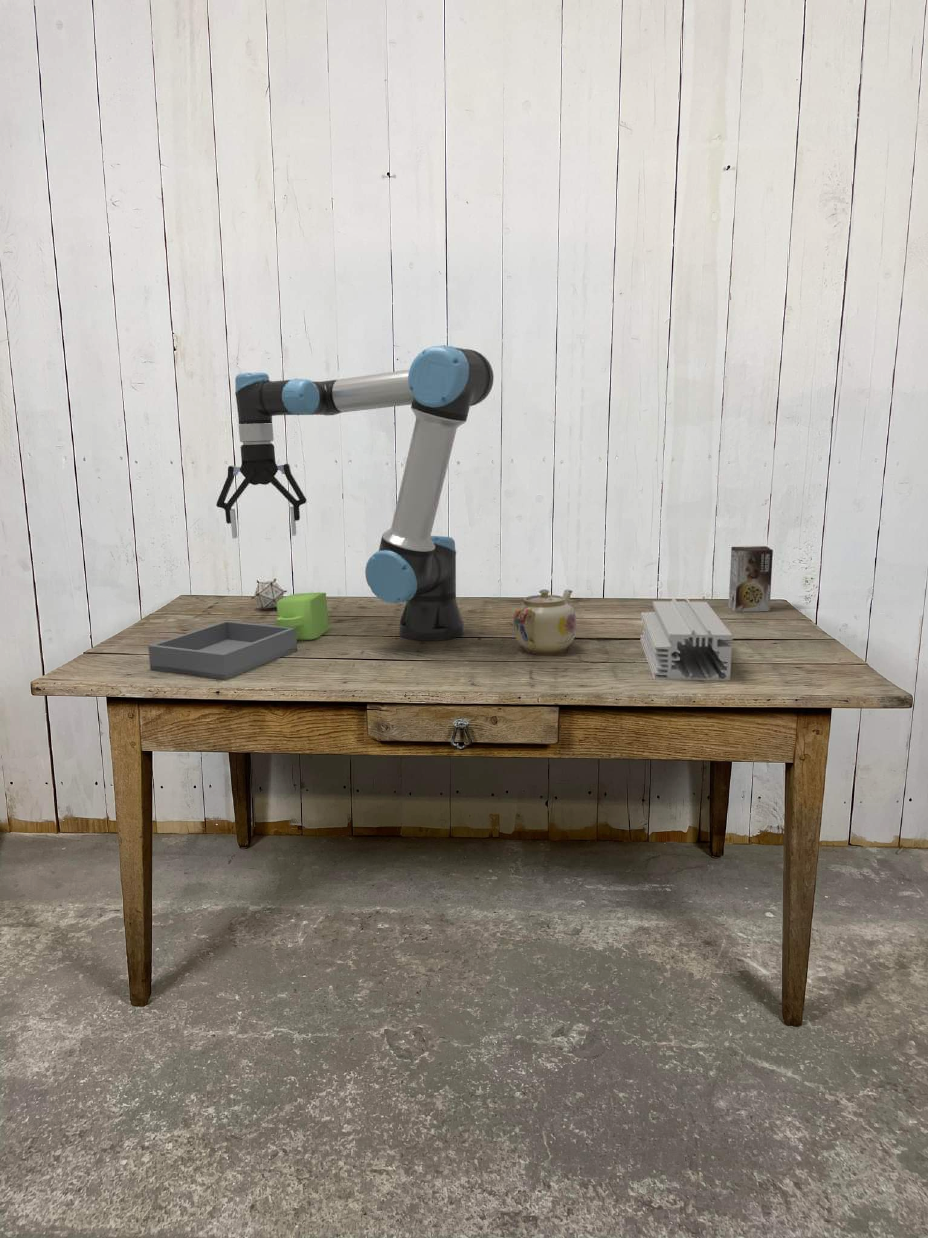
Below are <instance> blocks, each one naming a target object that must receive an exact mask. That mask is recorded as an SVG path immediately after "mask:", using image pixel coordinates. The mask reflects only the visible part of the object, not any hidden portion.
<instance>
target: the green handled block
mask: <svg viewBox="0 0 928 1238" xmlns="http://www.w3.org/2000/svg"><path fill="white" fill-rule="evenodd" d="M327 601H328V599H327V592H304V593H292V594H290V595H287V596H285V597H282V599H281V600H279V601H277V607H276V610H277V611H276V612H277V618H276V619H275V622H276V626H280V627H290V628H296V640H297V641H299V640H300V641H301V640H305V641H306V640H315V639H318V638H319V637H320V636H322V635H323V634H325V633H327V632H328V631H329V629H330V628H329V627H330V626H329V624H330V623H329V613H328V602H327Z"/></svg>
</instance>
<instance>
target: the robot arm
mask: <svg viewBox="0 0 928 1238" xmlns="http://www.w3.org/2000/svg"><path fill="white" fill-rule="evenodd" d="M494 376H495V375H494V370H493V367H492V365H491V363H490V361H489V360H488V359H487V358H486V357H485V355H483V354H482V353H480V352H478V351H476V350H474V349H469V348H462V347H460V348H459V347H455V346H453V345H451V346H450V345H436V346H435V345H434V346H430V347H428V348H425V349H424V350H421V352H420V353H418V354H417V356H416V357H415V358H414V359H413V361H412V362H411V364H410V367H409V369H404V370H397V371H396V370H395V371H390V372H383V373H375V374H369V375H361V376H354V377H346V378H340V379H339V378H338V379H332V380H331V379H330V380H324V381H312V380H310V379H308V378H306V379H304V378H293V379H286V380H285V379H284V380H283V379H282V380H274V381H273V380H270V378H269V377H270V376H269V374H268V373H265V372H242V373H238V374H237V375H236V376H235V380H234V381H235V392H234V394H235V399H236V400H235V401H236V408H237V416H238V419H237V420H238V434H239V442H240V443H242V445H241V446H240V458H241V465H240V466H234V465H229V466H228V467H227V477H226V478H225V479H226V480H225V482H224V484H223V487H222V489H221V492H220V495H219V496H218V499H217V501H216V507H217V508H221V509H223V510H224V512H225V513H224V514H225V522H226V523H227V524H229V525H230V528H231V538H232V539H237V538H238V529H237V528H238V527H237V517H236V509H235V508H232V507H233V506H234V504H235V503H236V502H237V500H238V499H239V498H240V497H241V495H242V494H243V493H244V491H245V490H246V489H247V487H248V486H249V485H250V484H251V485H252V486H257V485H268V484H270V483H271V485H272V486H273V487H275V488H276V489H277V491H279V492H280V493H281V495H283V497H284V498H285V499H286V500H287V501H288V502H289V503H290V504H291V505H292V506H290V508H289V512H290V513H289V514H290V525H291V526H290V527H291V537H292V536H296V535H297V526H296V524H297V523H296V521H297V522H299V520H300V519H301V515H300V513H301V512H300V506H301V505H304V504H306V503H307V501H308V500H307V498H306V496H305V495H304V492H303V491H302V490H301V488H300V485H299V484H298V482H297V481H296V479H295V477H294V475H293V474H292V472H291V466H290V464H289V463H285V464H281V465H278V464H277V462H276V457H275V456H276V453H275V445H274V444H273V443H272V442H273V441H274V440H275V439H274V430H273V429H274V426H273V417H274V416H314V415H315V416H317V415H319V416H321V415H322V416H336V415H339V414H341V413H342V414H343V413H350V412H358V411H360V412H361V411H366V410H367V411H368V410H376V409H385V408H393V407H402V406H409V405H410V409H411V410H412V412H413V414H414V416H415V421H414V427H413V430H412V435H411V439H410V444H409V447H408V448H409V449H408V452H407V457H406V460H405V461H406V462H405V466H404V470H403V474H402V477H401V478H402V479H401V482H400V483H401V484H400V489H399V492H398V496H397V501H396V505H395V509H394V510H395V511H394V514H393V518H392V522H391V527H390V528H389V529H387V530H386V531H384V532H383V533H382V535H381V538H380V543H379V547H378V550H377V551H376V552H375V553H373V554H372V555H371V556H370V557H369V558H368V560H367V562H366V564H365V571H364V573H365V581H366V582H367V585H368V587H369V588H370V590H371V593H372V594H374V595H375V596H376V597H377V599H379V600H381V601H383V602H386V603H388V604H399V603H405V604H404V608H403V611H402V615H401V618H400V621H399V626H398V628H399V635H400V636H401V637H403V638H405V639H409V640H415V641H441V640H443V641H444V640H450V639H454V638H459V637H460V636H462V635H464V633H465V623H464V620H463V616H462V614H461V611H460V608H459V605H458V602H457V585H456V584H457V569H456V568H457V565H456V563H457V562H456V561H457V559H456V557H457V550H456V542H455V539H454V538H453V537H451V536H442V535H441V536H440V535H432V533H433V529H434V527H433V526H434V524H435V523H434V522H435V521H436V520H435V519H436V515H437V510H438V507H439V504H440V499H441V494H442V491H443V486H444V483H445V479H446V475H447V470H448V468H449V467H448V466H449V463H450V462H449V461H450V459H451V454H452V450H453V446H454V442H455V438H456V434H457V429H458V428H459V427H460V426H462V425H463V424H465V423H466V422H467V420H468V416H469V413H470V408H471V407H473V406H475V405H479V404H481V403H482V402H483V401H485V399H486V398H487V397H488V396H489V395H490V393H491V391H492V389H493V384H494ZM278 471H280V472H281V474H282V475H284V476H285V477H286V479H287V481H288V482H289V484H290V486H291V488H292V489H293V491H294V493H295V495H296V497H297V498H298V499H296V498H295V497H294V496H293V494H292V493H291V492H289V490H288V489H287V488H286V487H285V486H284V485H283V484H282V483H281V482H280V481H279V480H278V479H277V478H276V474H278ZM239 472H240V473H241V474H242V476H243V477H244V479H243V481H242V482H241V483H240V485H239V486H238V487H237V489H236V491H234V493H233V494H232V496H230V498H229V499H228V501H227V502H225V501H226V499H227V496H228V494H229V492H230V490H231V486H232V484H233V482H234V479H235V477H236V476H238V475H239Z"/></svg>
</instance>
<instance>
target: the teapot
mask: <svg viewBox="0 0 928 1238" xmlns="http://www.w3.org/2000/svg"><path fill="white" fill-rule="evenodd" d="M538 592H539V593H540V594H536V595H529V596H526V597H524V599H523V603H521V604H520V605H519V606H518V607H517V608H516V610H515V611H514V615H513V632H514V637H515V639H516V641H517V642H518V643H519V644H520V645H521V646H522V647H523V650H524V651H525V652H526V653H528V654H534V655H541V656H542V655H543V656H546V655H549V656H551V655H552V656H553V655H558V654H562V653H565V652H567V650H568V647H569V646H570V645H571V643H572V642H573V640H575V637H576V633H577V618H576V612H575V610H574V608H573V607H572V606H571V605H570V600H571V596H572V594H573V590H571V589H565V590H564V591H563V593H562V594H563V595H562V596H561V595H557V594H554V595H553V594H550V590H548V589H541V590H539V591H538Z"/></svg>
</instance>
